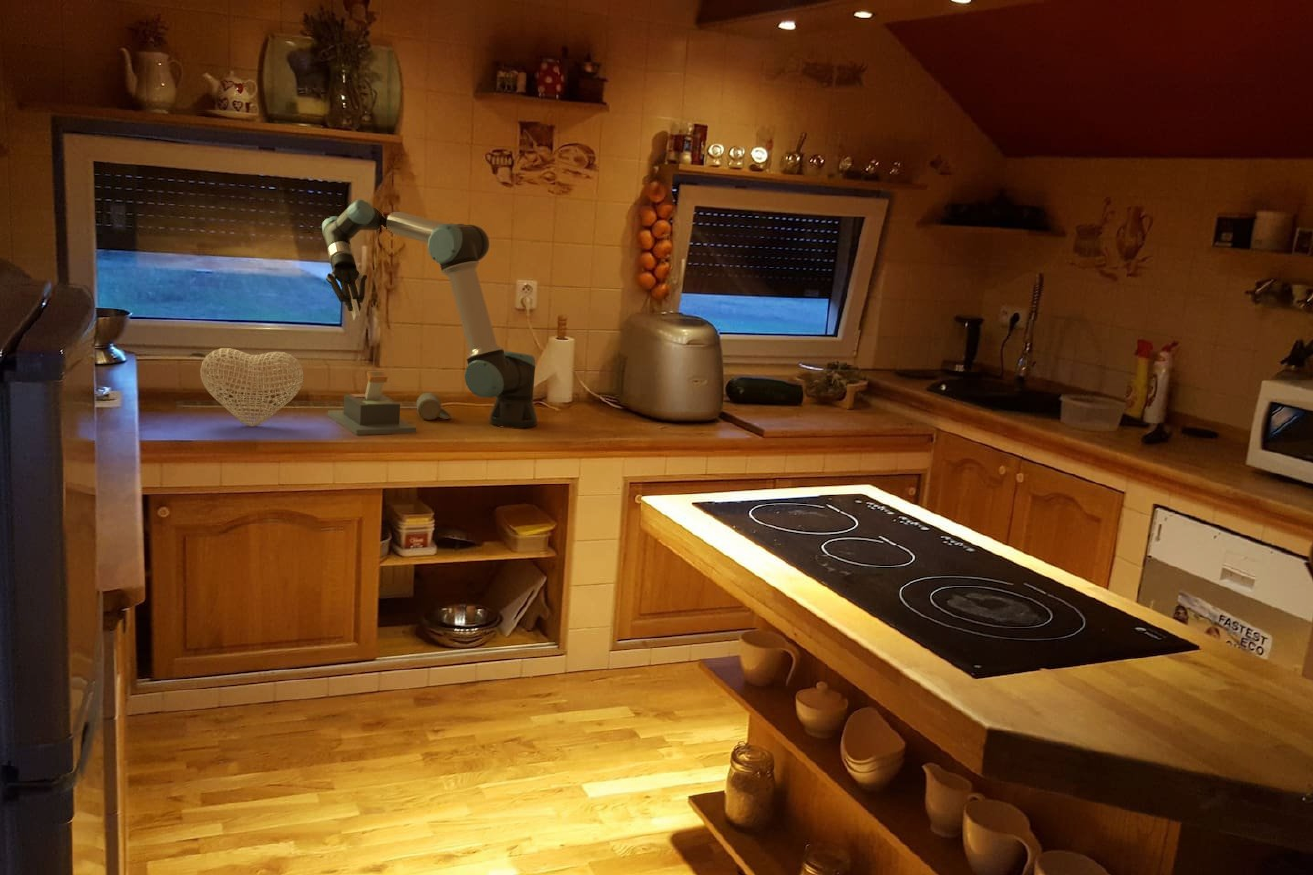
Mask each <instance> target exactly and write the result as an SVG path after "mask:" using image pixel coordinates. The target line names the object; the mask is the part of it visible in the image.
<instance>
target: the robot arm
mask: <svg viewBox="0 0 1313 875" xmlns="http://www.w3.org/2000/svg"><path fill="white" fill-rule="evenodd" d="M374 207H375V206H374ZM374 207H373V206H372V205H371V204H370V202H367V201H365V200H364V199H356V200H355V201H354V202H352V203H351V204H350V205H349V206H348V207H347V208H346V209H344V211H343V212H342V213H341V214H340V215H339V216H337V215H335V216H330V217H329V218H328V217H327V218H326V219H324V221H322V224H321V229H322V236H323V239H324V242H325V246H326V250H327V253H328V258H329V262H330V267H331V269H332V272H331V273H330V272H329V273H327V276H326V278H325V280H326V281H327V282H328V284H330V286H331V288H332V290H333V292H334V293H335V295H336V298H338V301H339V302H340V303H344V305H345V306H347V310H348V311H349V312H351V315H352V320H353V322H359V320H360V319H361V313H360V311H361V309H362V306H361V304H362V303H363V302H364V300H365V297H366V296H365V294H366V293H365V292H366V282H367V279H368V276H367V275H366V274H364V275H362V274H361V273H360V271H358V268H357V265H356V260H355V258H354V252H353V249H352V245H351V239H352V238H354V237H355V236H356V235H357V234H358V233H359V232H361V231H375V230H378V229H379V228H380V227H381V225H383V226H384V227H386V229H388V230H389V231H390V232H392V233H393V234H392V233H391V234H392V235H396V236H400V237H403V238H408V239H412V240H415V241H419V242H423V243H427V251H428V254H429V256H430V258H431V259H432V260H434V261H435V262H436V263H438V264H439V267H440V270H441V273H442V274H444V275H446V276H447V278H448V279H449V283H450V287H451V291H452V294H453V297H454V301H455V304H456V309H457V312H458V315H459V318H460V322H461V326H462V329H463V332H464V336H465V339H466V340H465V341H466V344H467V347H468V351H469V352H468V355H467V357H466V361H467V366H466V368H465V371H464V382H465V385H466V386H467V388H468V390H469V391H470V393H472V394H473V395H475V396H477V397H479V398H485V399H487V398H489V399H490V398H491V399H493V398H495V401H494V404H493V406H492V409H491V412H490V414H489V421H488V422H489V424H491V425H493V424H495V425H494V426H496V425H499V426H498V427H500V426H503V427H502V428H507V427H514V428H513V429H525V428H524V427H530V428H533V427H532V426H534V427H536V426H537V425H536V424H538V416H537V412H536V410H535V404H534V388H535V387H534V386H535V385H534V384H535V376H536V373H535V372H536V371H535V370H536V359H535V356H534V355H532V354H528V353H521V352H514V351H507V350H504V348H503V347H501V346H499V345H498V343H497V341H496V336H495V332H494V328H493V326H492V323H491V319H490V316H489V313H488V307H487V305H486V302H485V301H486V300H485V297H484V294H483V290H482V287H481V284H480V280H479V277H478V272H477V268H478V265H479V264H480V262H479V261H481V260H482V259H483V258H484V257H485V256H486V255H487V254H488V251H489V249H490V240H489V236H488V234H487V233H486V231H485V230H484V229H483V228H482V227H480V226H477V225H475V224H464V223H457V224H456V223H446V222H442V221H438V220H434V219H430V218H427V217H422V216H418V215H414V214H409V213H406V212H401V211H398V212H393V213H390V214H389V215H387V216H386V217H385V218H384V217H383V216H382V214H381V213H380V212H379V211H378V210H377V209H376V208H374ZM357 279H358V283H359V286H358V287H359V288H357V285H356V283H357V282H356V281H357ZM535 425H536V426H535Z"/></svg>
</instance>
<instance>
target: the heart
mask: <svg viewBox="0 0 1313 875" xmlns="http://www.w3.org/2000/svg"><path fill="white" fill-rule="evenodd" d="M231 357H232V358H231ZM236 358H237V359H236ZM218 359H220V360H219V361H217V360H218ZM280 360H281V361H280ZM246 361H247V362H246ZM264 363H265V364H264ZM269 363H270V364H269ZM217 364H218V365H217ZM259 364H260V365H259ZM200 365H201V366H200V369H199V372H200V373H199V374H200V379H201V382H202V384H203V386H204V388H205V389H206V391H207V392H208V394H210V395H211V396H212V397H213V398H214V399H215V400H216V402H218V403H219V404H220V405H222V406H223V407H224V408H225V409H226V410H227V411H228V412H230V413H231V415H232V416H234V417H235V419H237V420H238V421H240V422H241V423H242V424H244V425H246V426H247V427H252V428H253V427H258V426H259V425H262V424H263V423H264V422H265V421H267V420H268V419H269V418H271V417H272V416H274V414H276V413H278V411H279V410H281V409H282V408H283V407H285V406H286V405H287V404H288V403H289V402H291V401H292V400H293V399H294V397H296V396H297V394H298V392H299V391H300V390H301V387H302V385H303V382H304V372H303V371H304V370H303V367H302V365H301V363H300V361H299V360H298V359H297V358H296V357H294V356H293V354H290V353H287V352H285V351H284V352H283V351H270V352H264V353H260V354H249V353H247V352H244V351H242V350H238V349H234V348H232V347H231V348H230V347H221V348H219V349H214V350H212V351H211V352H210V353H208V354H207V355H206V356H205V357H204V358H203V360H202V361H201V364H200ZM246 365H247V366H246ZM283 366H284V367H283ZM269 367H270V369H269ZM274 367H275V368H274ZM219 370H220V371H219ZM230 372H231V373H230ZM235 373H236V374H235ZM217 376H218V378H216V377H217ZM289 376H290V377H291V378H290V377H289ZM244 377H245V378H244ZM285 377H286V379H285ZM228 379H229V380H228ZM272 379H273V381H272ZM233 380H234V382H233ZM238 381H240V383H239V382H238ZM243 382H245V383H243ZM226 383H228V385H227V384H226ZM248 383H250V384H248ZM280 383H281V384H280ZM285 383H286V384H285ZM231 385H233V387H231ZM236 386H238V388H236ZM259 386H260V387H259ZM273 386H274V387H273ZM220 388H221V389H220ZM242 388H244V389H242ZM248 388H249V389H248ZM227 389H228V391H227ZM276 390H277V391H276ZM265 391H266V392H265ZM271 391H272V392H271ZM242 393H243V394H242ZM285 393H286V394H285ZM230 395H231V396H232V397H230ZM277 395H278V396H277ZM273 396H274V397H273ZM270 401H272V403H270ZM274 404H276V405H274ZM237 405H238V406H237ZM256 410H257V411H256Z"/></svg>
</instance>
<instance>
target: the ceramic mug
mask: <svg viewBox="0 0 1313 875" xmlns="http://www.w3.org/2000/svg"><path fill="white" fill-rule="evenodd" d="M415 406H416V409H417V414H418V415H419V417H420V418H422V419H423V420H425V419H426V421H433V420H435V419H437V418H440V419H443V420H445V419H449V420H450V418H451V413H450V412H448V411H446V410H445V409H443V408H442V404H441V400H440V398H439V396H437V395H436V394H434V393H432V392H424V393H422V394H421V395H420V396H419V397H418V398H417V400H416V405H415Z"/></svg>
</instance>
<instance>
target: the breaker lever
mask: <svg viewBox="0 0 1313 875" xmlns="http://www.w3.org/2000/svg"><path fill="white" fill-rule="evenodd" d="M388 377H389V376H388V375H387V372H386V370H368V371H367V374H366V378H367V384H366V390H365V393H364V394H365V397H366V399H367V400H378V399H380V396H381V394H382V390H383V386H384V383H387V382H388Z"/></svg>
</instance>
